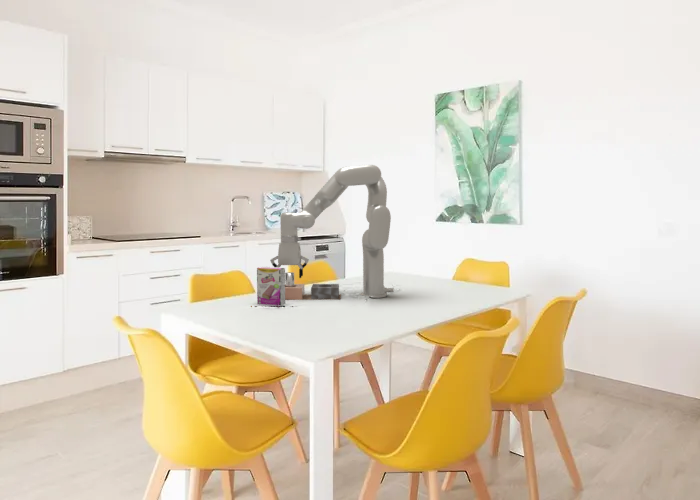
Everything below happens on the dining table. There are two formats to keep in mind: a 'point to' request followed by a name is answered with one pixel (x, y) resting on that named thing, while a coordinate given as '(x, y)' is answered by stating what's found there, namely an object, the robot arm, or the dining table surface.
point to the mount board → (322, 292)
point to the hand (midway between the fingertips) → (289, 277)
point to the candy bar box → (271, 286)
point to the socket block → (294, 292)
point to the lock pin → (289, 279)
